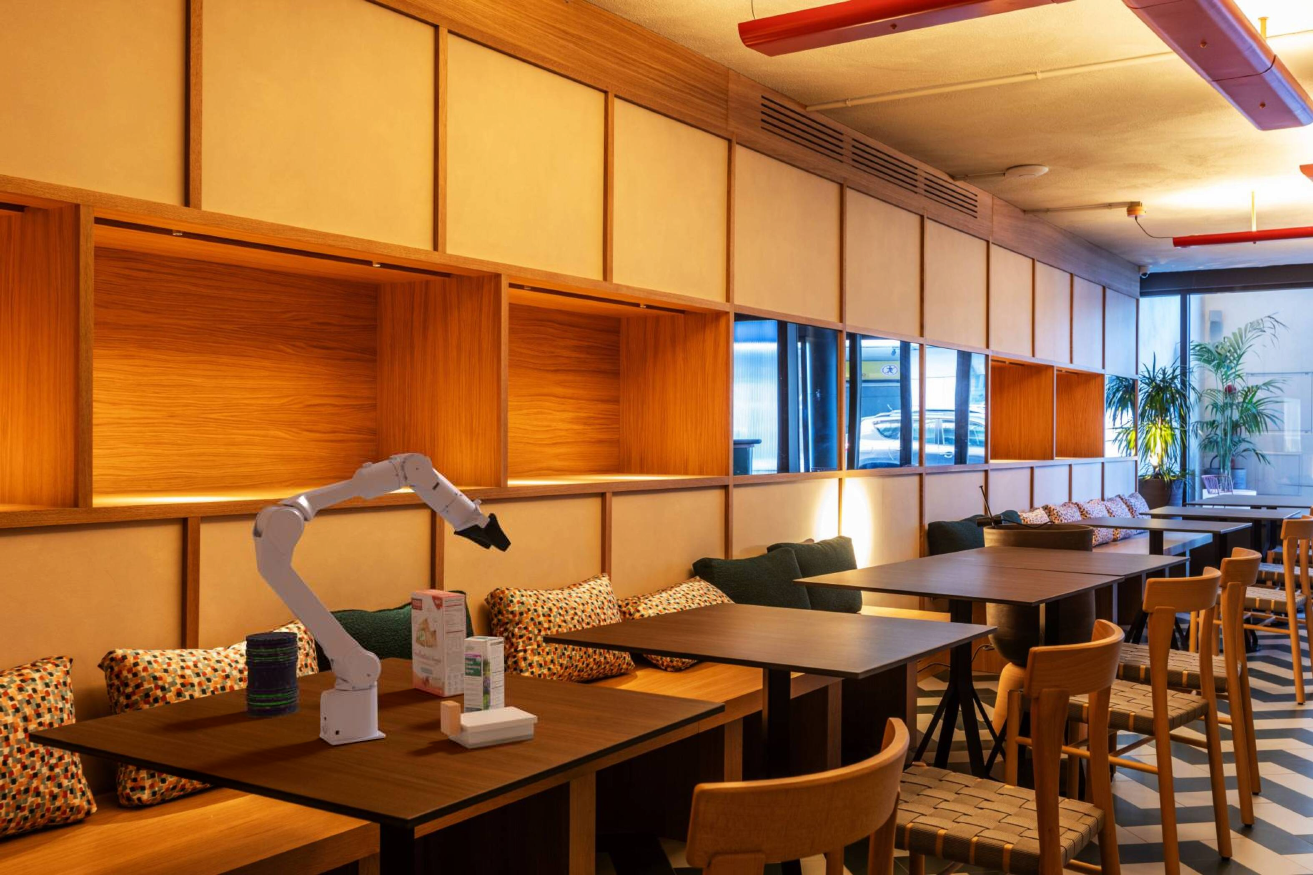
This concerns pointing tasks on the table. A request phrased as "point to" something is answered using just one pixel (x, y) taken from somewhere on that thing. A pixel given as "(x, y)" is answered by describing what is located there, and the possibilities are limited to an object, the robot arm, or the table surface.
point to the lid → (480, 718)
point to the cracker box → (438, 641)
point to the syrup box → (483, 673)
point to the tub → (494, 736)
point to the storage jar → (271, 674)
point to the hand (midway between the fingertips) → (499, 546)
